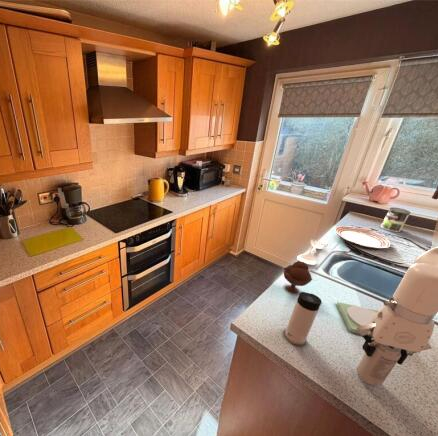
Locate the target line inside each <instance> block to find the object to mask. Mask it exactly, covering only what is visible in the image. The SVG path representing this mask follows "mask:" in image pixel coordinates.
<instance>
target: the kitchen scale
mask: <svg viewBox="0 0 438 436" xmlns="http://www.w3.org/2000/svg"><path fill="white" fill-rule="evenodd" d="M336 308H337V309H338V311H339V313H340V315H341V317H342V319H343V320H344V323H345V325H346V327H347V329H348V331H349V333H353V334H358V335H361V334H360V333H359V332H358V330H357V327H361V326H365V325H368V324H369V323H370V321H371V320H372V318H373V317H374V316H375V314H376V313H377V312H378V311H379V310H377V309H372V308H369V307H364V306H359V305H353V304H349V303H345V302H340V301H338V302H337V303H336ZM371 332H372V331H371ZM369 333H370V332H367V334H369Z"/></svg>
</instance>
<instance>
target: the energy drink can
mask: <svg viewBox="0 0 438 436" xmlns="http://www.w3.org/2000/svg"><path fill="white" fill-rule="evenodd" d="M371 339H372V340H373V338H371ZM375 347H376V349H375V351H374V352H373V354H372V356H370V357H369V356H367V355H366V353H365V352H364V353H363V355H362V356H361V358H360V360H359V362H358V363H357V365H356V367H355V370H356V373H357V375H358V377H359V378H360V379H361V380H362V382H365V383H366V384H368V385H371V386H378V387H379V386H382V385H383V384H384V382H385V380H387V378H388V376H389V375H390V373H391V372H392V370H393V369H394V367H395V366H396V364H398V363H397V361H398V360H399V358H400V357H401V349H400V348H396V347H392V346H388V345H384V344H380V343H378V344H377V345H375Z"/></svg>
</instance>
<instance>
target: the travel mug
mask: <svg viewBox="0 0 438 436" xmlns="http://www.w3.org/2000/svg"><path fill="white" fill-rule="evenodd" d="M321 304H322V299H321V298H320V297H319V296H318V295H316V294H314V293H310V292H307V291H306V292H305V291H301V292H299V293H298V296H297V299H296V301H295V304H294V307H293V309H292V312H291V314H290V318H289V320H288V323H287V326H286V329H285V332H284V336H285V339H286V340H287V341H288V342H289V343H291V344H293V345H296V346H303V345H305V342H306V340H307V338H308V336H309V333H310V331H311V330H312V329H311V328H312V326H313V324H314V322H315V320H316V317H317V315H318V313H319V309H320V307H321Z"/></svg>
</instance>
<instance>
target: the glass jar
mask: <svg viewBox="0 0 438 436" xmlns="http://www.w3.org/2000/svg"><path fill="white" fill-rule="evenodd" d="M410 214H411V211H409V210H407V209H404V208H400V207H389V208H388V211H387V212H386V215H385V217H384V219H383V221H382V223H381V225H380V228H382V229H384V230H386V231H390V232H393V233H399V232H401V231H402V229H403V227H404V225H405V224H406V222H407V220H408V218H409V216H410Z"/></svg>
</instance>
